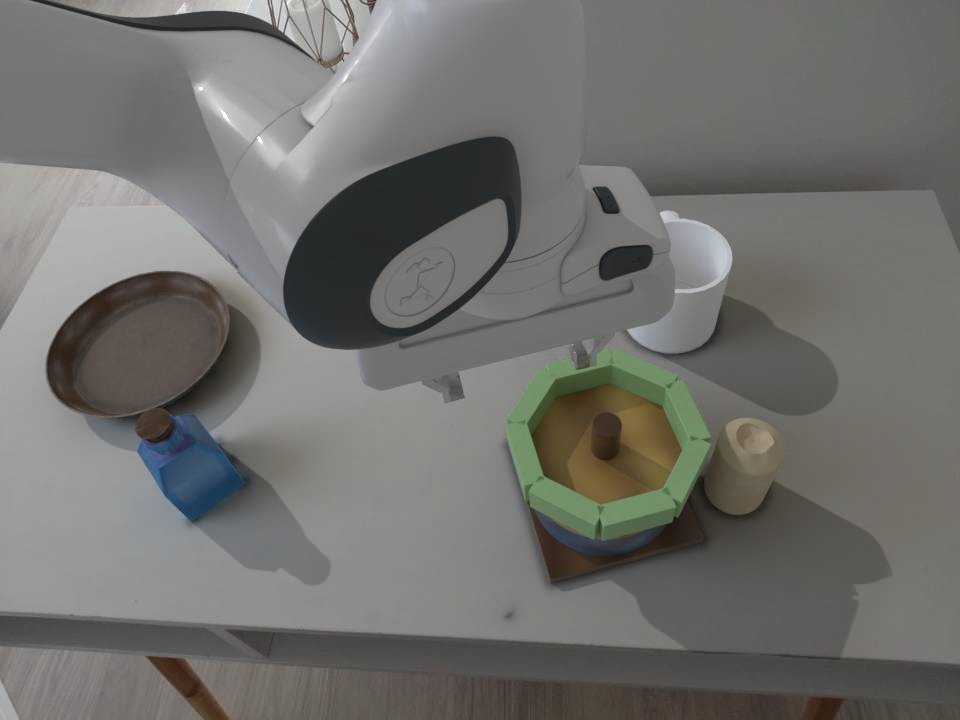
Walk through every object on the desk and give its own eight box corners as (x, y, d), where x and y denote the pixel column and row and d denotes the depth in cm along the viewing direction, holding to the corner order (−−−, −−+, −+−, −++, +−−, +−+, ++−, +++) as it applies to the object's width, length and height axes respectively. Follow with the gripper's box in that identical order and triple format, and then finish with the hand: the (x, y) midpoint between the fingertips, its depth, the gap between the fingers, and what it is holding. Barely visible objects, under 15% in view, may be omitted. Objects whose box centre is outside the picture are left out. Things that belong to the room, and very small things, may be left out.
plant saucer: (129, 271, 95) (117, 253, 93) (270, 306, 90) (261, 288, 87) (23, 405, 85) (5, 389, 82) (175, 454, 79) (161, 439, 77)
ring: (542, 557, 60) (541, 543, 58) (494, 395, 69) (491, 377, 67) (731, 507, 61) (737, 491, 58) (659, 353, 70) (662, 334, 68)
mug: (724, 351, 80) (743, 288, 72) (629, 359, 81) (636, 297, 72) (701, 263, 87) (715, 196, 79) (613, 270, 88) (618, 205, 80)
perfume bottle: (192, 522, 75) (135, 467, 65) (165, 480, 78) (107, 421, 68) (246, 484, 76) (199, 425, 67) (217, 444, 80) (168, 382, 70)
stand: (550, 583, 68) (547, 527, 57) (509, 447, 76) (500, 375, 65) (702, 542, 69) (727, 479, 58) (646, 411, 77) (658, 335, 66)
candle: (772, 477, 72) (798, 424, 63) (752, 526, 69) (777, 477, 61) (715, 453, 74) (734, 399, 65) (694, 499, 71) (711, 449, 63)
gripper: (326, 327, 39) (380, 452, 51) (700, 236, 41) (671, 378, 52) (314, 243, 43) (366, 376, 54) (657, 161, 44) (639, 309, 56)
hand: (517, 376), depth 53 cm, fingers open, 8 cm apart
